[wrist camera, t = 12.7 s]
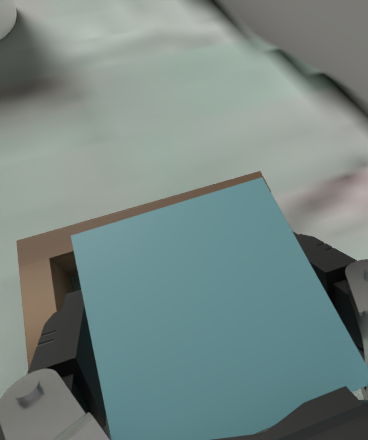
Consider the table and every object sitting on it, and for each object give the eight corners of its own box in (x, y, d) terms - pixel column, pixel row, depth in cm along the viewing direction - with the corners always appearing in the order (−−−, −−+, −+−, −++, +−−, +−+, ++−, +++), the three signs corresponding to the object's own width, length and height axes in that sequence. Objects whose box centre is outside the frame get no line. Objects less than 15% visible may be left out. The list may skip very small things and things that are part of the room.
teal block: (163, 420, 14) (121, 489, 5) (134, 313, 16) (70, 235, 7) (263, 379, 15) (375, 381, 6) (223, 282, 17) (262, 177, 8)
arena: (366, 434, 14) (407, 448, 11) (80, 556, 12) (50, 605, 10) (250, 199, 20) (260, 171, 17) (42, 261, 18) (16, 240, 15)
